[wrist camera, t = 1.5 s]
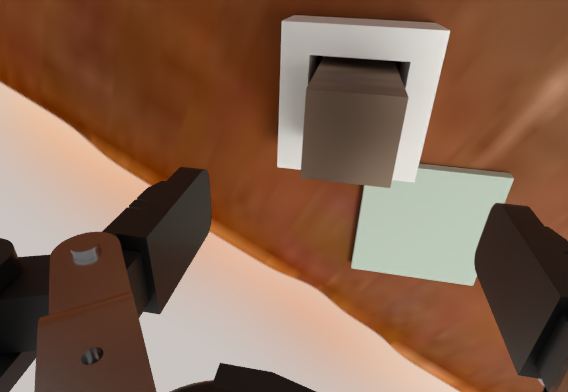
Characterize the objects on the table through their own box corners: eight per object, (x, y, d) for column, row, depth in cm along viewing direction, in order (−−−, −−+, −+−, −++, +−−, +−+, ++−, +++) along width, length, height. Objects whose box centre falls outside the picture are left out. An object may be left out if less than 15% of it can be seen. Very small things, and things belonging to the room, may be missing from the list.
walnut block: (392, 57, 22) (408, 97, 15) (381, 123, 24) (390, 188, 17) (325, 53, 23) (306, 89, 15) (319, 117, 25) (300, 177, 17)
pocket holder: (436, 22, 21) (450, 30, 18) (407, 155, 25) (414, 182, 22) (294, 14, 22) (281, 20, 19) (288, 142, 26) (277, 167, 23)
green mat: (509, 173, 24) (513, 178, 24) (470, 278, 29) (472, 286, 28) (368, 158, 26) (368, 162, 25) (351, 261, 30) (351, 268, 29)
